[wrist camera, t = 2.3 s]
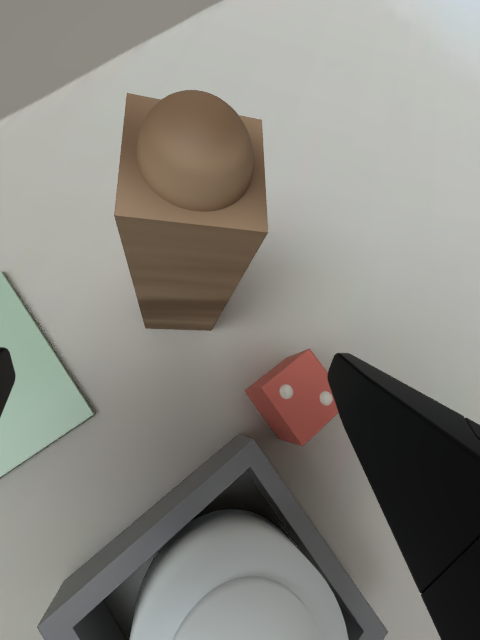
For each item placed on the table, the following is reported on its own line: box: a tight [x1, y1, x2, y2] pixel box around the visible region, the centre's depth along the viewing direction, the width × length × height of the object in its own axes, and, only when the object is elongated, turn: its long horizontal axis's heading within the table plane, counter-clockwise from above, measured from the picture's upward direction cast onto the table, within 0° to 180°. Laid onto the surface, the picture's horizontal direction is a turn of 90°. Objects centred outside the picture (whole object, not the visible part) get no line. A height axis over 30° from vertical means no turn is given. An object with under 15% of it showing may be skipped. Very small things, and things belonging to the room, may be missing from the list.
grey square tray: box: [37, 434, 388, 640], centre depth 16 cm, size 12×12×4 cm
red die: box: [245, 349, 338, 446], centre depth 19 cm, size 4×4×4 cm
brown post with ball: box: [114, 90, 268, 330], centre depth 15 cm, size 4×4×15 cm
